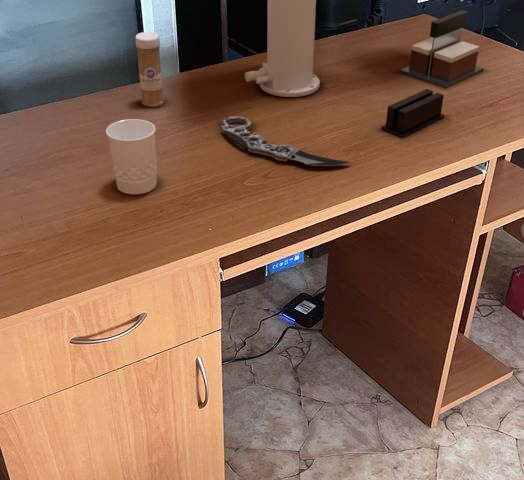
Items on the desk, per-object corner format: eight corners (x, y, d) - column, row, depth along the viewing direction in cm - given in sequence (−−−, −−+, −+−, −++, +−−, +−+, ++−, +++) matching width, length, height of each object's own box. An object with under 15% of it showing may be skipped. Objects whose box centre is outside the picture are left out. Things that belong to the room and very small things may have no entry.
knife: (352, 158, 137) (314, 174, 132) (351, 166, 138) (314, 183, 133) (240, 111, 153) (201, 124, 147) (240, 119, 154) (201, 132, 148)
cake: (445, 88, 165) (449, 61, 161) (399, 72, 171) (403, 46, 167) (483, 70, 172) (488, 44, 168) (438, 56, 179) (442, 31, 175)
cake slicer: (430, 76, 168) (437, 23, 161) (424, 74, 169) (431, 21, 162) (460, 63, 174) (468, 11, 167) (454, 61, 175) (462, 9, 167)
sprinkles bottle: (145, 109, 156) (138, 40, 147) (139, 100, 159) (132, 32, 150) (167, 105, 157) (162, 37, 148) (160, 97, 160) (155, 29, 152)
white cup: (140, 201, 128) (134, 144, 122) (103, 188, 132) (95, 132, 125) (169, 181, 134) (165, 126, 127) (133, 169, 137) (127, 114, 130)
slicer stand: (402, 138, 147) (405, 114, 144) (381, 129, 149) (383, 106, 146) (444, 117, 154) (447, 95, 151) (422, 109, 156) (426, 87, 153)
